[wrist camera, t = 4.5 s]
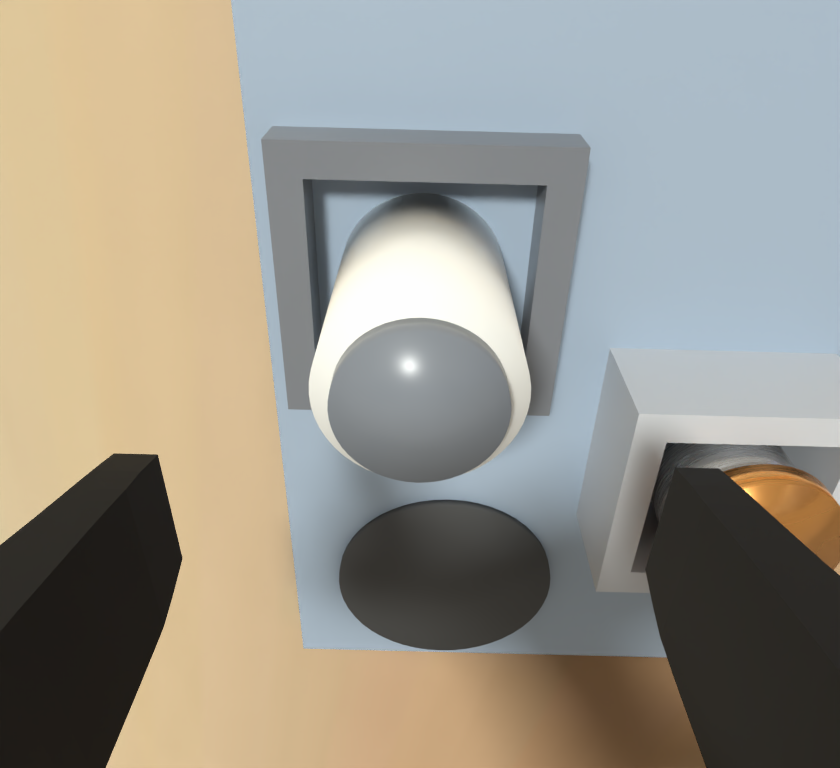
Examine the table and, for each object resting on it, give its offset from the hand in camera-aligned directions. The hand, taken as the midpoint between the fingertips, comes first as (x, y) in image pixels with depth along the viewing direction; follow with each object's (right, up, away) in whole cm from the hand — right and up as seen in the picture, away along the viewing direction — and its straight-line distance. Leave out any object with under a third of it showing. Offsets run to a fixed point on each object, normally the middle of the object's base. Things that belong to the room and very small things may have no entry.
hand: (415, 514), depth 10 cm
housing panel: (+4, +2, +10) cm, 11 cm away
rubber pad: (+1, -5, +13) cm, 14 cm away
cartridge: (0, +5, +7) cm, 8 cm away
